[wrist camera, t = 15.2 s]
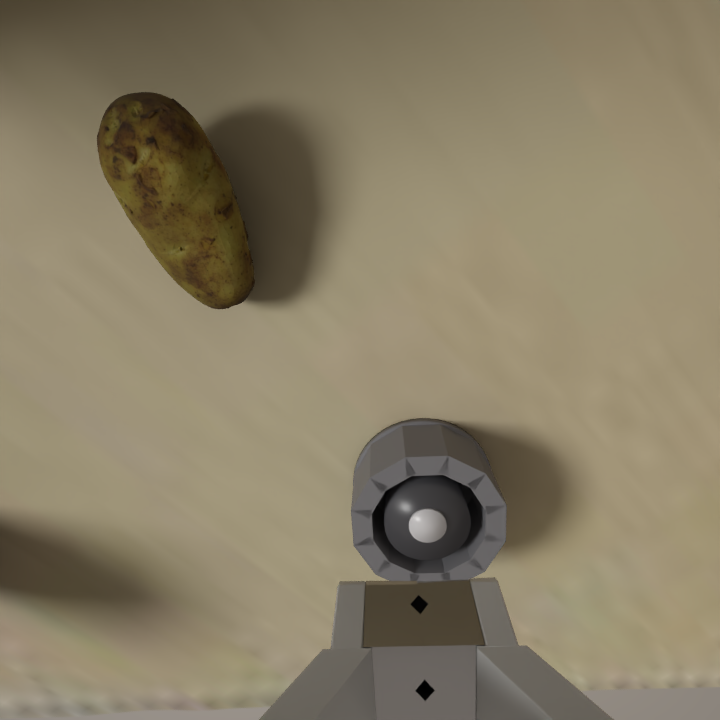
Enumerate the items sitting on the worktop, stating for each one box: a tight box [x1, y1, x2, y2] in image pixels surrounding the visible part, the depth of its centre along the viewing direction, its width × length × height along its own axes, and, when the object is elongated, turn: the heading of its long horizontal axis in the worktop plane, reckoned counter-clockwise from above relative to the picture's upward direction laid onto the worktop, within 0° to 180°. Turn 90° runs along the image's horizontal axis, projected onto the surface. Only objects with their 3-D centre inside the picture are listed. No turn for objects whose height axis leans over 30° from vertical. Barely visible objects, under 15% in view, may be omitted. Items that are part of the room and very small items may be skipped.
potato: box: [97, 92, 255, 309], centre depth 32 cm, size 8×13×8 cm, turn 179°
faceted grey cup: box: [351, 418, 507, 581], centre depth 39 cm, size 11×11×6 cm
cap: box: [384, 475, 471, 561], centre depth 38 cm, size 6×6×5 cm
